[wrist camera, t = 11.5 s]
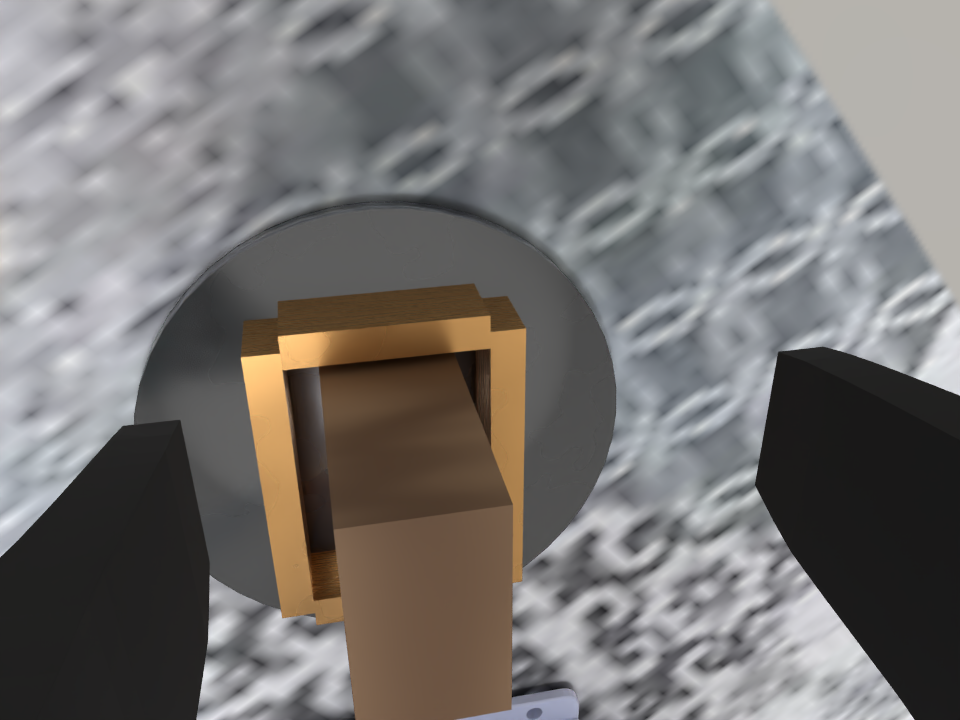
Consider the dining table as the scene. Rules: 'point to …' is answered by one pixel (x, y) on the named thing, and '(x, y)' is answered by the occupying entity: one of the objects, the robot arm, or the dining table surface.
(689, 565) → the dining table surface
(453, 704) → the brown rectangular block
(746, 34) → the dining table surface
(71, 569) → the robot arm
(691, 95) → the dining table surface
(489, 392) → the rosette plate
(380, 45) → the dining table surface
